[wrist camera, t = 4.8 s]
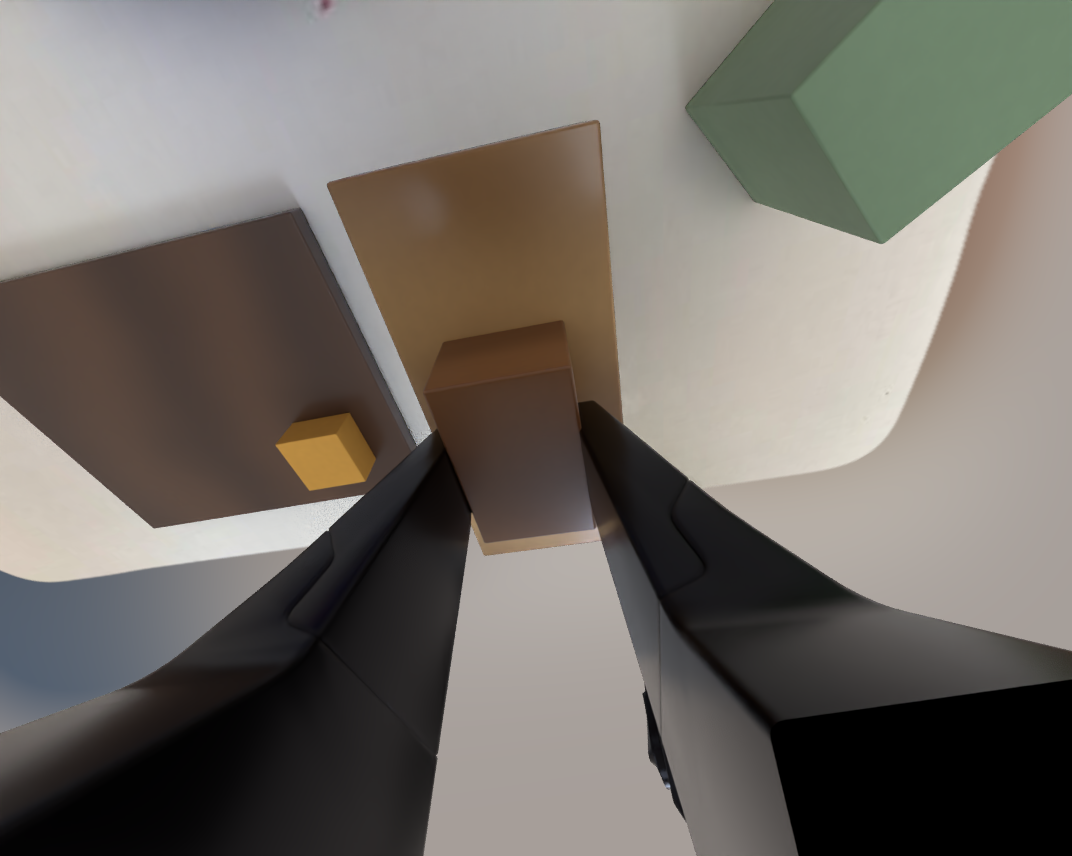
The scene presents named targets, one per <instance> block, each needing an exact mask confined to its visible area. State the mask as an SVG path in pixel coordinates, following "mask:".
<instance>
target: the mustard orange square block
mask: <svg viewBox="0 0 1072 856" xmlns="http://www.w3.org/2000/svg"><path fill="white" fill-rule="evenodd" d="M275 445H276V447H277V448H278V449H279V451H280V452H281V453H282V455H283V456H284V457H285V459H286V460H287V461H288V463H289V464H290V465H291V467H292V468H293V469H294V471H295V472H296V473H297V475H298V476H299V477H300V479H301V480H302V481H303V483H304V484H305V485H306V487H307V488H308V489H309V490H310V491H311V490H317V489H323V488H329V487H335V486H341V485H347V484H353V483H359V482H365V481H366V480H367V477H368V475H369V473H370V471H371V469H372V467H373V464H374V462H375V460H376V458H375V456H374V454H373V453H372V451H371V449H370V447H369V446H368V444H367V442H366V440H365V439H364V437H363V435H362V433H361V432H360V430H359V428H358V427H357V425H356V423H355V421H354V420H353V418H352V416H351V414H350V413H344V414H339V415H334V416H328V417H323V418H318V419H312V420H307V421H301V422H296V423H292V424H291V426H290V427H289V428H288V429H287V431H286V432H285V433H284V434H283V436H282V437H281V438H280V439H279V441H278V442H277V443H276V444H275Z"/></svg>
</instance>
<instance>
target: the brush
mask: <svg viewBox="0 0 1072 856" xmlns="http://www.w3.org/2000/svg"><path fill="white" fill-rule="evenodd" d="M327 187H328V190H329V192H330V194H331V197H332V199H333V201H334V204H335V206H336V208H337V211H338V213H339V215H340V218H341V220H342V223H343V225H344V227H345V230H346V232H347V234H348V237H349V239H350V241H351V244H352V246H353V248H354V251H355V253H356V255H357V258H358V260H359V262H360V265H361V267H362V270H363V272H364V274H365V277H366V279H367V281H368V284H369V286H370V288H371V291H372V293H373V295H374V298H375V300H376V302H377V305H378V307H379V310H380V312H381V314H382V317H383V319H384V321H385V324H386V326H387V328H388V331H389V333H390V335H391V338H392V340H393V342H394V345H395V347H396V349H397V352H398V354H399V357H400V359H401V361H402V364H403V366H404V368H405V371H406V373H407V375H408V378H409V380H410V382H411V385H412V387H413V389H414V392H415V394H416V397H417V399H418V401H419V404H420V406H421V408H422V411H423V413H424V415H425V418H426V420H427V422H428V425H429V427H430V429H431V432H434V431H435V430H436V429H438V431H439V434H440V436H441V439H442V441H443V444H444V446H445V448H446V451H447V453H448V456H449V458H450V461H451V463H452V465H453V468H454V470H455V473H456V475H457V478H458V480H459V482H460V485H461V487H462V490H463V492H464V494H465V497H466V499H467V502H468V504H469V507H470V509H471V511H472V515H471V526H472V528H473V530H474V533H475V535H476V538H477V540H478V542H479V545H480V547H481V549H482V552H483V554H484V555H485V556H487V555H494V554H503V553H510V552H518V551H526V550H534V549H542V548H549V547H557V546H565V545H573V544H581V543H589V542H596V541H601V538H600V534H599V531H598V528H597V525H596V521H595V518H594V515H593V511H592V507H591V504H590V499H589V492H588V486H587V480H586V473H585V467H584V460H583V454H582V448H581V441H580V435H579V431H580V430H581V421H580V415H579V408H578V402H583V401H589V400H594V401H596V402H597V403H598V404H599V405H600V406H602V407H603V408H604V409H605V410H606V411H608V412H609V413H610V414H611V415H612V416H614V417H615V418H616V419H617V420H619V421H620V422H621V423H622V424H623V416H622V403H621V390H620V377H619V364H618V351H617V338H616V325H615V312H614V299H613V286H612V273H611V260H610V247H609V234H608V221H607V208H606V196H605V183H604V170H603V157H602V144H601V131H600V123H599V121H598V120H592V121H585V122H580V123H575V124H571V125H567V126H562V127H558V128H554V129H550V130H545V131H541V132H537V133H532V134H528V135H524V136H520V137H515V138H511V139H507V140H502V141H498V142H494V143H490V144H485V145H481V146H477V147H472V148H468V149H464V150H460V151H455V152H451V153H447V154H442V155H438V156H434V157H429V158H425V159H421V160H417V161H412V162H408V163H404V164H399V165H395V166H391V167H387V168H382V169H378V170H374V171H369V172H365V173H362V174H358V175H354V176H350V177H346V178H342V179H339V180H335V181H331V182H328V183H327Z"/></svg>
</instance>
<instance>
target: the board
mask: <svg viewBox="0 0 1072 856" xmlns="http://www.w3.org/2000/svg"><path fill="white" fill-rule="evenodd" d="M0 396H1V397H2V398H3V399H4V400H5V401H6V402H8V403H9V404H10V405H11V406H12V407H13V408H15V409H16V410H17V411H18V412H19V413H20V414H22V415H23V416H24V417H25V418H26V419H27V420H28V421H30V422H31V423H32V424H33V425H34V426H35V427H37V428H38V429H39V430H40V431H41V432H42V433H44V434H45V435H46V436H47V437H48V438H49V439H51V440H52V441H53V442H54V443H55V444H56V445H57V446H59V447H60V448H61V449H62V450H63V451H64V452H66V453H67V454H68V455H69V456H70V457H71V458H73V459H74V460H75V461H76V462H77V463H78V464H80V465H81V466H82V467H83V468H84V469H85V470H87V471H88V472H89V473H90V474H91V475H92V476H93V477H95V478H96V479H97V480H98V481H99V482H100V483H102V484H103V485H104V486H105V487H106V488H107V489H109V490H110V491H111V492H112V493H113V494H114V495H116V496H117V497H118V498H119V499H120V500H121V501H122V502H124V503H125V504H126V505H127V506H128V507H129V508H131V509H132V510H133V511H134V512H135V513H136V514H138V515H139V516H140V517H141V518H142V519H143V520H145V521H146V522H147V523H148V524H149V525H150V526H152V527H153V528H160V527H166V526H173V525H179V524H185V523H191V522H197V521H204V520H210V519H216V518H222V517H228V516H235V515H241V514H247V513H253V512H259V511H265V510H272V509H278V508H284V507H290V506H296V505H303V504H309V503H315V502H321V501H327V500H334V499H340V498H346V497H352V496H358V495H365V494H366V493H368V492H369V491H370V490H371V489H372V488H373V487H374V486H375V485H376V484H377V483H378V482H379V481H381V480H382V479H383V478H384V477H385V476H386V475H387V474H388V473H389V472H390V471H391V470H392V469H394V468H395V467H396V466H397V465H398V464H399V463H400V462H401V461H402V460H403V459H404V458H405V457H406V456H408V455H409V454H410V453H411V452H412V451H413V450H414V449H415V448H416V447H417V446H416V444H415V442H414V440H413V438H412V436H411V434H410V432H409V430H408V428H407V426H406V424H405V422H404V420H403V418H402V416H401V414H400V412H399V409H398V407H397V405H396V403H395V401H394V399H393V397H392V395H391V393H390V391H389V389H388V387H387V385H386V383H385V381H384V379H383V377H382V375H381V373H380V370H379V368H378V366H377V364H376V362H375V360H374V358H373V356H372V354H371V352H370V350H369V348H368V346H367V344H366V342H365V340H364V338H363V336H362V334H361V331H360V329H359V327H358V325H357V323H356V321H355V319H354V317H353V315H352V313H351V311H350V309H349V307H348V305H347V303H346V301H345V299H344V297H343V295H342V292H341V290H340V288H339V286H338V284H337V282H336V280H335V278H334V276H333V274H332V272H331V270H330V268H329V266H328V264H327V262H326V260H325V258H324V256H323V254H322V251H321V249H320V247H319V245H318V243H317V241H316V239H315V237H314V235H313V233H312V231H311V229H310V227H309V225H308V223H307V221H306V219H305V217H304V215H303V212H302V210H301V209H300V208H297V209H293V210H289V211H285V212H280V213H276V214H272V215H268V216H264V217H260V218H256V219H252V220H248V221H244V222H240V223H236V224H232V225H228V226H224V227H220V228H216V229H212V230H208V231H204V232H200V233H196V234H191V235H187V236H183V237H179V238H175V239H171V240H167V241H163V242H159V243H155V244H151V245H147V246H143V247H139V248H135V249H131V250H127V251H123V252H119V253H115V254H111V255H107V256H102V257H98V258H94V259H90V260H86V261H82V262H78V263H74V264H70V265H66V266H62V267H58V268H54V269H50V270H46V271H42V272H38V273H34V274H30V275H26V276H22V277H18V278H13V279H9V280H5V281H1V282H0ZM344 413H350V414H351V416H352V418H353V420H354V421H355V423H356V425H357V427H358V428H359V430H360V432H361V433H362V435H363V437H364V439H365V440H366V442H367V444H368V446H369V447H370V449H371V451H372V453H373V454H374V456H375V458H376V460H375V462H374V464H373V467H372V469H371V471H370V473H369V475H368V477H367V480H366V481H365V482H359V483H353V484H347V485H341V486H335V487H329V488H323V489H317V490H311V491H310V490H309V489H308V488H307V487H306V485H305V484H304V483H303V481H302V480H301V479H300V477H299V476H298V475H297V473H296V472H295V471H294V469H293V468H292V467H291V465H290V464H289V463H288V461H287V460H286V459H285V457H284V456H283V455H282V453H281V452H280V451H279V449H278V448H277V447H276V445H275V444H276V443H277V442H278V441H279V439H280V438H281V437H282V436H283V434H284V433H285V432H286V431H287V429H288V428H289V427H290V426H291V424H292V423H296V422H301V421H307V420H312V419H318V418H323V417H328V416H334V415H339V414H344Z"/></svg>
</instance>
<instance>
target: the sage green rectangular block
mask: <svg viewBox="0 0 1072 856" xmlns="http://www.w3.org/2000/svg"><path fill="white" fill-rule="evenodd" d="M1071 94H1072V0H775V1H774V2H773V3H772V4H771V6H770V7H769V8H768V9H767V10H766V11H765V13H764V14H763V15H762V16H761V17H760V19H759V20H758V21H757V22H756V23H755V25H754V26H753V27H752V28H751V29H750V31H749V32H748V33H747V34H746V35H745V37H744V38H743V39H742V40H741V41H740V42H739V44H738V45H737V46H736V47H735V48H734V50H733V51H732V52H731V53H730V54H729V56H728V57H727V58H726V59H725V60H724V62H723V63H722V64H721V65H720V66H719V67H718V69H717V70H716V71H715V72H714V73H713V75H712V76H711V77H710V78H709V79H708V81H707V82H706V83H705V84H704V85H703V87H702V88H701V89H700V90H699V91H698V92H697V94H696V95H695V96H694V97H693V98H692V100H691V101H690V102H689V103H688V104H687V106H686V108H685V109H686V111H687V112H688V114H689V115H690V116H691V118H692V119H693V120H694V122H695V123H696V124H697V126H698V127H699V128H700V130H701V131H702V132H703V134H704V135H705V136H706V138H707V139H708V140H709V142H710V143H711V144H712V146H713V147H714V148H715V150H716V151H717V152H718V154H719V155H720V156H721V158H722V159H723V160H724V162H725V163H726V164H727V166H728V167H729V168H730V170H731V171H732V172H733V174H734V175H735V176H736V178H737V179H738V180H739V182H740V183H741V184H742V186H743V187H744V188H745V190H746V191H747V192H748V194H749V195H750V196H751V198H752V199H753V200H754V202H757V203H760V204H763V205H766V206H769V207H772V208H775V209H778V210H781V211H784V212H787V213H790V214H793V215H796V216H799V217H801V218H804V219H807V220H810V221H813V222H816V223H819V224H822V225H825V226H828V227H831V228H834V229H837V230H840V231H843V232H846V233H849V234H852V235H855V236H858V237H861V238H864V239H867V240H870V241H873V242H876V243H879V244H883V243H885V242H886V241H888V240H889V239H890V238H891V237H893V236H894V235H895V234H896V233H898V232H899V231H900V230H902V229H903V228H904V227H905V226H907V225H908V224H909V223H910V222H912V221H913V220H914V219H915V218H917V217H918V216H919V215H920V214H922V213H923V212H924V211H925V210H927V209H928V208H929V207H930V206H932V205H933V204H934V203H935V202H937V201H938V200H939V199H940V198H942V197H943V196H944V195H946V194H947V193H948V192H949V191H951V190H952V189H953V188H954V187H956V186H957V185H958V184H959V183H961V182H962V181H963V180H964V179H966V178H967V177H968V176H969V175H971V174H972V173H973V172H974V171H976V170H977V169H978V168H979V167H981V166H982V165H983V164H984V163H986V162H987V161H988V160H989V159H991V158H992V157H993V156H995V155H996V154H997V153H998V152H1000V151H1001V150H1002V149H1003V148H1004V147H1006V146H1007V145H1008V144H1009V143H1011V142H1012V141H1013V140H1015V139H1016V138H1017V137H1018V136H1020V135H1021V134H1022V133H1023V132H1025V131H1026V130H1027V129H1028V128H1029V127H1031V126H1032V125H1033V124H1035V123H1036V122H1037V121H1038V120H1040V119H1041V118H1042V117H1043V116H1045V115H1046V114H1047V113H1048V112H1050V111H1051V110H1052V109H1054V108H1055V107H1056V106H1057V105H1059V104H1060V103H1061V102H1062V101H1064V100H1065V99H1066V98H1067V97H1069V96H1070V95H1071Z"/></svg>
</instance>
